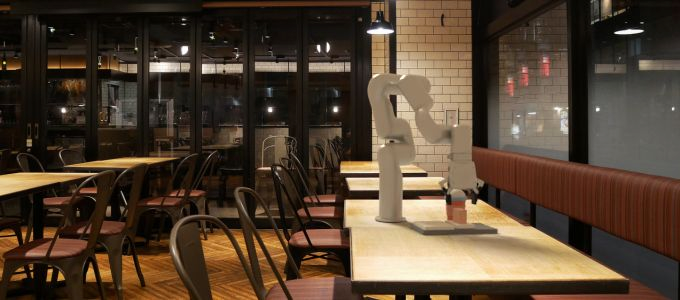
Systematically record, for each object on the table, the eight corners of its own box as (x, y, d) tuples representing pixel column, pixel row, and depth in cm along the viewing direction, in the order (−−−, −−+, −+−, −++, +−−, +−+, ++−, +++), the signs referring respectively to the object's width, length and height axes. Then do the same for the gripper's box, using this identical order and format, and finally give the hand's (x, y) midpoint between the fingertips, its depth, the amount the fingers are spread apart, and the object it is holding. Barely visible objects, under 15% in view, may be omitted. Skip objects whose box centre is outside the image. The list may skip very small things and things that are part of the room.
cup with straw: (439, 222, 244) (440, 177, 243) (457, 220, 248) (458, 177, 247) (452, 225, 236) (453, 179, 235) (471, 224, 240) (472, 178, 239)
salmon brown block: (444, 223, 228) (444, 207, 228) (462, 223, 230) (462, 207, 229) (456, 228, 216) (456, 211, 216) (475, 228, 218) (475, 211, 218)
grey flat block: (410, 228, 227) (410, 221, 227) (480, 226, 233) (480, 219, 233) (423, 234, 213) (423, 227, 213) (497, 233, 218) (497, 225, 218)
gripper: (442, 158, 217) (442, 206, 217) (487, 157, 220) (488, 205, 220) (435, 158, 224) (435, 204, 224) (479, 157, 227) (479, 203, 228)
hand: (461, 204), depth 222 cm, fingers open, 9 cm apart
